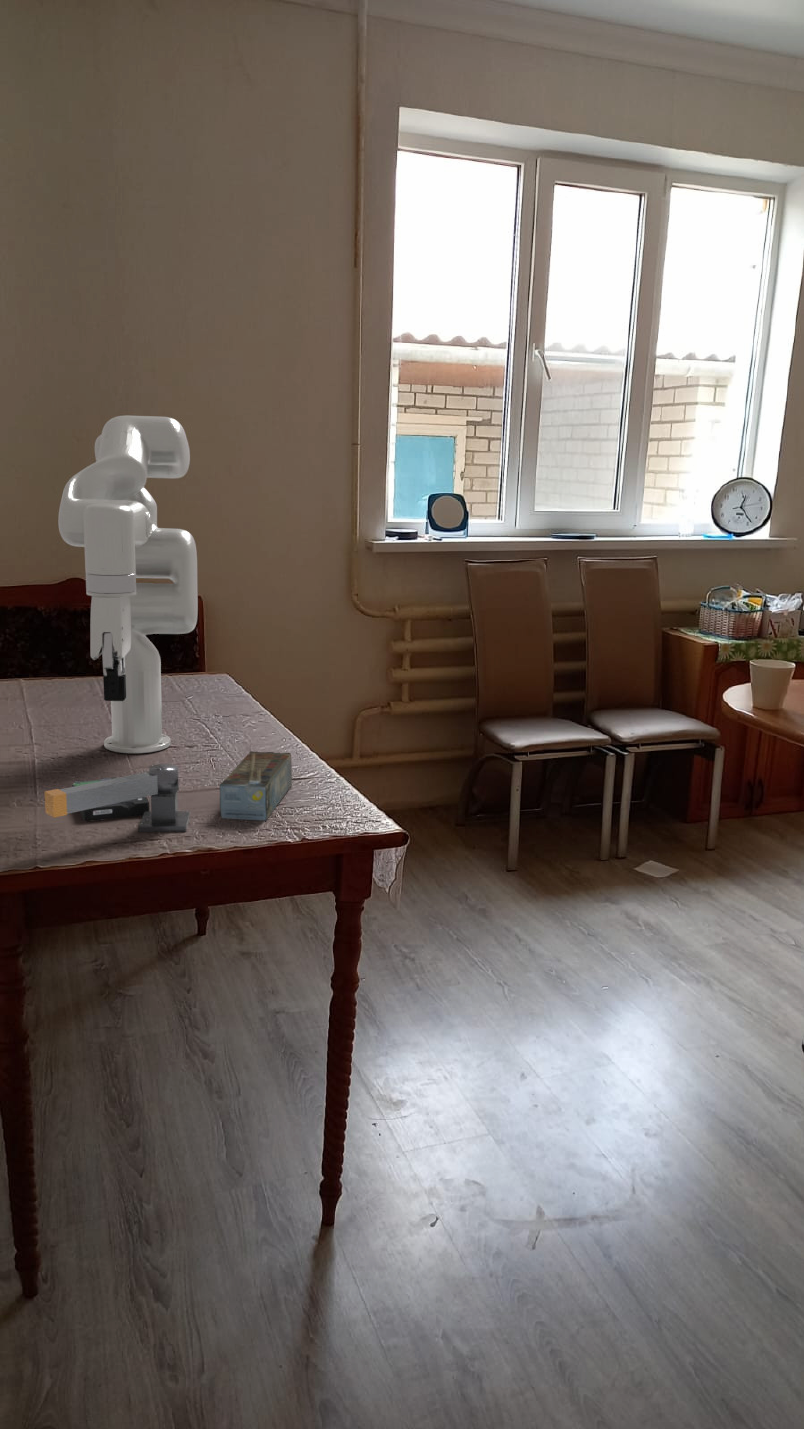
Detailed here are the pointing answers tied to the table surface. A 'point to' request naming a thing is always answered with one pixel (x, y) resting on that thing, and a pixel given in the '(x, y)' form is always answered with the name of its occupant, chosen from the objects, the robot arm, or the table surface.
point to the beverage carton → (256, 786)
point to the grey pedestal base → (164, 815)
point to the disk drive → (115, 807)
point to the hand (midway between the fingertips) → (115, 699)
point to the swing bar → (112, 790)
